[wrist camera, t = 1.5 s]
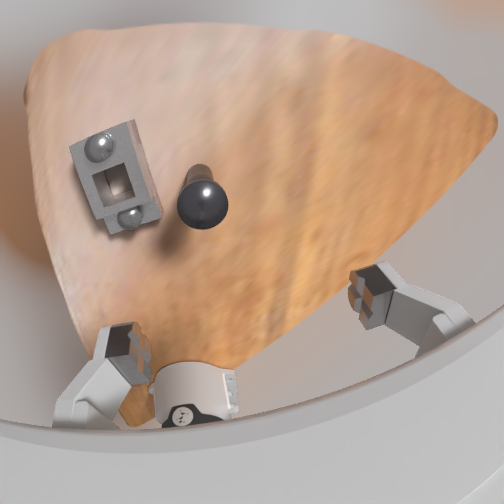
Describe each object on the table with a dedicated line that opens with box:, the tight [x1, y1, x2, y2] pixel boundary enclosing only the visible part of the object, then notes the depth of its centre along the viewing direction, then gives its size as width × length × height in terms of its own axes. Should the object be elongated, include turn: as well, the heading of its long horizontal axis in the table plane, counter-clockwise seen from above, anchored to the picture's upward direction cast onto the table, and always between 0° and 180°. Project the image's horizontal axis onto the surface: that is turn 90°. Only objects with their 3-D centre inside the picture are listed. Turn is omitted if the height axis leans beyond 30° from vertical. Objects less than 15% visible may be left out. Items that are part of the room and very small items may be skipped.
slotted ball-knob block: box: [69, 120, 163, 235], centre depth 28 cm, size 12×7×5 cm, turn 11°
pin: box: [177, 164, 228, 230], centre depth 28 cm, size 4×4×10 cm
